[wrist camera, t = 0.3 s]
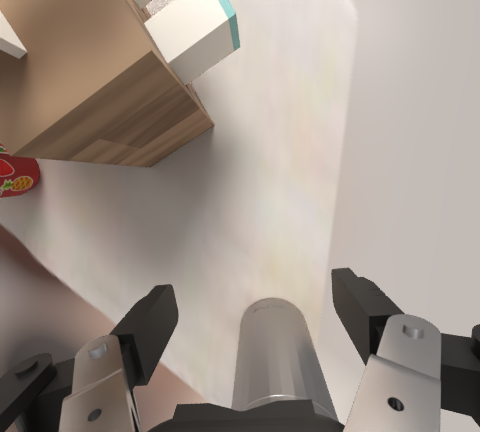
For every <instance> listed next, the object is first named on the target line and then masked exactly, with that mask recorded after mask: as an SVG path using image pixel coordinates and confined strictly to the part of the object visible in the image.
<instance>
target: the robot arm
mask: <svg viewBox="0 0 480 432" xmlns="http://www.w3.org/2000/svg"><path fill="white" fill-rule="evenodd" d="M331 274H332V294H333V303H334V307H335V310H336V313H337V314H338V316H339V318H340V320H341V322H342V324H343V325H344V327H345V329H346V331H347V332H348V334H349V336H350V338H351V340H352V341H353V344H354V345H355V347H356V349H357V351H358V353H359V354H360V356H361V358H362V360H363V362H364V364H365V366H366V368H365V371H364V374H363V377H362V380H361V382H360V385H359V388H358V391H357V394H356V396H355V399H354V402H353V405H352V408H351V411H350V414H349V416H348V419H347V422H346V425H345V426H344V425H343V424H341V423H340V422H339V421H338V418H337V415H336V412H335V409H334V406H333V403H332V400H331V397H330V394H329V391H328V388H327V385H326V382H325V379H324V376H323V373H322V370H321V367H320V364H319V361H318V358H317V355H316V352H315V349H314V346H313V343H312V339H311V336H310V333H309V330H308V327H307V324H306V321H305V319H304V316H303V315H302V313H301V312H300V310H299V309H298V308H297V307H296V306H295V305H293V304H291V303H290V302H288V301H285V300H282V299H276V298H269V299H264V300H260V301H258V302H256V303H254V304H253V305H251V306H250V307H249V308H248V309H247V310H246V312H245V313H244V315H243V317H242V321H241V327H240V336H239V344H238V353H237V362H236V372H235V381H234V390H233V399H232V408H231V409H229V408H225V407H221V406H218V405H214V404H210V403H204V404H177V406H176V409H175V413H174V416H173V418H172V419H169V420H167V421H165V422H163V423H160V424H159V425H157V426H155V427H153V428H152V429H150V430H149V431H148V432H440V408H441V409H445V410H449V411H453V412H456V413H460V414H465V415H469V416H471V417H472V418H473V419H474V420H475V422H476V423H477V424H478V425H479V427H480V324H479V325H476V326H474V327H473V329H472V337H471V338H470V337H463V336H456V335H449V334H443V333H440V331H439V330H438V328H436V327H435V326H434V325H433V324H432V323H430V322H428V321H426V320H425V319H422V318H420V317H416V316H412V315H407V314H404V313H403V312H402V311H401V310H400V309H399V308H398V307H397V306H396V305H395V303H393V302H392V301H391V299H390V298H388V297H387V296H386V295H385V293H383V292H382V291H381V290H380V288H378V286H377V285H375V283H374V282H372V281H370V280H368V279H366V278H364V277H357V276H356V275H355V274H354V272H353V271H352V270H351V269H350V268H339V269H332V273H331ZM177 323H178V308H177V304H176V299H175V294H174V290H173V287H172V285H171V284H167V285H157V286H155V287H154V288H153V289H152V290H151V292H150V293H149V294H148V295H147V296H145V297H144V298H142V299H141V300H139V301H138V302H137V303H136V304H135V305H134V306H133V307H132V308H131V309H130V311H129V312H128V313H127V314H126V315H125V317H124V318H123V319H122V320H121V321H120V322H119V323H118V324H117V326H116V327H115V328H114V329H113V330H112V332H111V333H110V334H109V335H106V336H102V337H99V338H97V339H95V340H93V341H91V342H89V343H88V344H86V345H85V346H84V347H83V348H81V350H80V351H79V352H78V353H77V355H76V357H75V358H73V359H70V360H66V361H63V362H60V363H56V364H55V363H54V360H53V357H52V355H51V354H49V353H43V354H39V355H35V356H33V357H30V358H28V359H26V360H24V361H22V362H21V363H19V364H17V365H16V366H14V367H13V368H12V369H10V370H9V371H8V372H7V373H6V374H4V375H3V376H2V377H1V378H0V432H5V431H6V430H7V429H8V427H9V426H10V425H11V424H12V423H13V422H15V425H16V427H17V429H18V431H19V432H142V428H141V423H140V418H139V414H138V408H137V404H136V399H135V395H134V392H133V388H134V386H142V385H147V384H148V382H149V380H150V378H151V376H152V374H153V372H154V370H155V368H156V366H157V364H158V362H159V360H160V358H161V356H162V354H163V352H164V350H165V348H166V346H167V344H168V342H169V339H170V337H171V335H172V333H173V331H174V329H175V327H176V325H177Z"/></svg>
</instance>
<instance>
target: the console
mask: <svg viewBox="0 0 480 432" xmlns="http://www.w3.org/2000/svg"><path fill="white" fill-rule="evenodd" d="M0 11H1V12H2V14H3V15H4V17H5V18H6V20H7V22H8V23H9V25H10V26H11V28H12V29H13V31H14V32H15V34H16V35H17V37H18V38H19V40H20V41H21V43H22V44H23V46H24V47H25V49H26V51H27V53H26V54H24V55H23V56H22V57H21V58H20V59H19V58H17V57H14V56H12V55H10V54H8V53H6V52H4V51H2V50H0V142H1V143H2V145H3V146H4V148H5V149H6V150H7V152H8V153H9V155H10V156H15V157H27V158H40V159H52V160H64V161H77V162H89V163H101V164H114V165H126V166H138V167H151V166H153V165H154V164H156V163H157V162H159V161H160V160H162V159H163V158H165V157H166V156H168V155H169V154H171V153H172V152H174V151H175V150H177V149H178V148H180V147H182V146H183V145H185V144H186V143H188V142H189V141H191V140H192V139H194V138H195V137H197V136H198V135H200V134H201V133H203V132H204V131H206V130H207V129H209V128H211V127H212V126H214V124H213V122H212V120H211V119H210V117H209V115H208V113H207V112H206V110H205V108H204V107H203V105H202V103H201V101H200V100H199V98H198V96H197V95H196V93H195V91H194V89H193V88H192V86H191V84H190V82H189V83H188V84H187V85H184V83H183V82H182V81H181V80H180V78H179V77H178V76H177V74H176V73H175V72H174V71H173V69H172V68H171V67H170V66H169V64H168V63H167V62H166V60H165V58H164V57H163V55H162V53H161V52H160V50H159V48H158V47H157V45H156V43H155V41H154V40H153V38H152V36H151V35H150V33H149V31H148V29H147V28H146V26H145V24H144V23H145V22H146V21H148V20H149V19H150V18H151V15H150V13H149V12H148V10H147V8H146V7H145V6H144V7H143V8H142V9H141V8H140V7H139V5H138V4H137V3H136V1H135V0H0Z"/></svg>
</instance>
